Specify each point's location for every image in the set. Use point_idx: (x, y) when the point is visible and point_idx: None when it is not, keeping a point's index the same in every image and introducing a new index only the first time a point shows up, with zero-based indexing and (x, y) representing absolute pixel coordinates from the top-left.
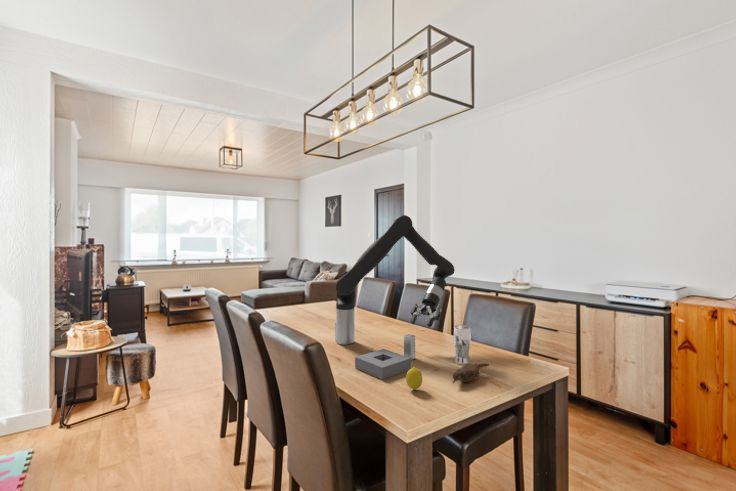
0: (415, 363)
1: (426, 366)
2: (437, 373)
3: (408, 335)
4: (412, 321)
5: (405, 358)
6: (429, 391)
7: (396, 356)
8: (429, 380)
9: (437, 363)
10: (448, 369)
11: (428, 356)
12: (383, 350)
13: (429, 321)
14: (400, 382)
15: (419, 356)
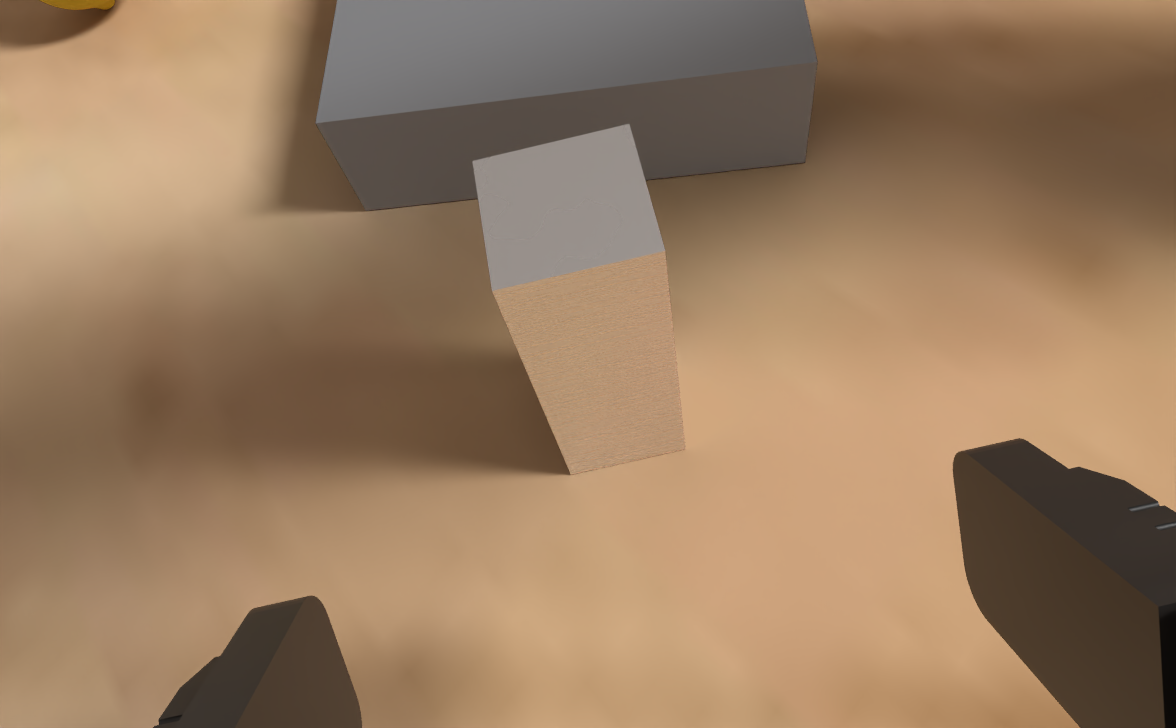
0: (441, 351)
1: (285, 383)
2: (92, 334)
3: (593, 198)
4: (969, 460)
5: (356, 73)
6: (8, 65)
7: (475, 37)
8: (88, 176)
9: (229, 568)
10: (30, 513)
11: (490, 703)
12: (755, 31)
13: (215, 692)
14: (262, 3)
15: (587, 585)
